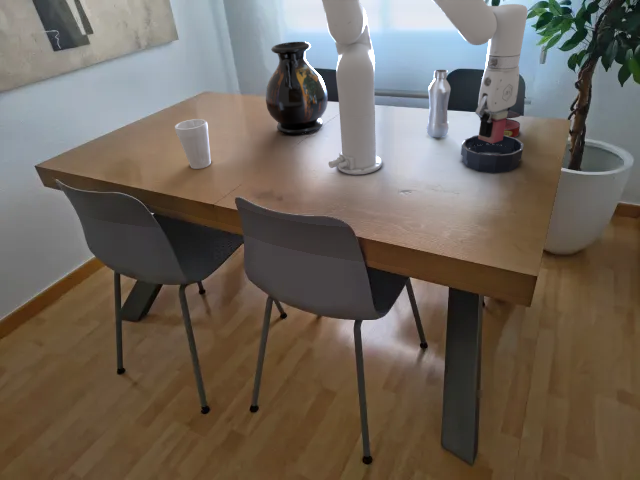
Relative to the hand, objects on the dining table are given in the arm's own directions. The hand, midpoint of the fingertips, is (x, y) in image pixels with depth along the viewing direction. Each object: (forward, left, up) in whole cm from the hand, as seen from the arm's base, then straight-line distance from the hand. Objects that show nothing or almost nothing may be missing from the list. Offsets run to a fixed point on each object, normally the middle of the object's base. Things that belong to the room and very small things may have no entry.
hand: (491, 133), depth 119 cm
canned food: (+20, +11, -8) cm, 25 cm away
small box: (0, 0, -2) cm, 2 cm away
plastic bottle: (+5, +24, -8) cm, 26 cm away
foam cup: (-61, +61, -8) cm, 86 cm away
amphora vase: (-21, +65, -8) cm, 68 cm away
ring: (0, 0, -8) cm, 8 cm away
